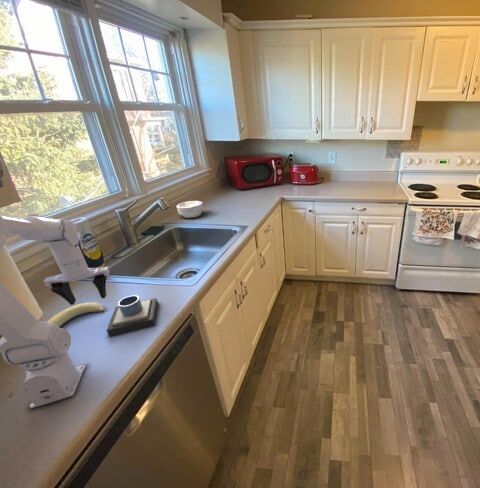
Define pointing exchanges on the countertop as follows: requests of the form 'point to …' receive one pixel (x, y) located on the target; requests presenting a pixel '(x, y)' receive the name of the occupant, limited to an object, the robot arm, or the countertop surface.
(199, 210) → the paper bowls
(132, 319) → the platform
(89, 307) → the fruit
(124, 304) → the bowl
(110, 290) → the countertop surface
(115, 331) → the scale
